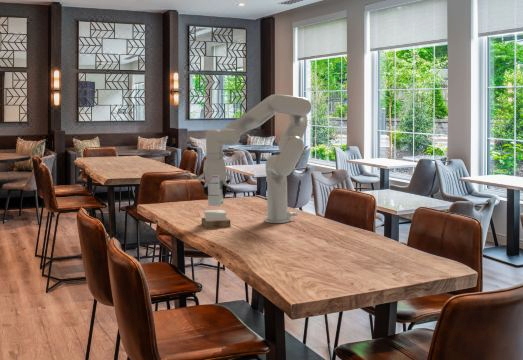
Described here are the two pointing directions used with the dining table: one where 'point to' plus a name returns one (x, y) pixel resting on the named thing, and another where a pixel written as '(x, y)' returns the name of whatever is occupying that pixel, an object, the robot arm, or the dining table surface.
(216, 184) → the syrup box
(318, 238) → the dining table surface
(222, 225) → the walnut slab
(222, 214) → the white slab
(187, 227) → the dining table surface
